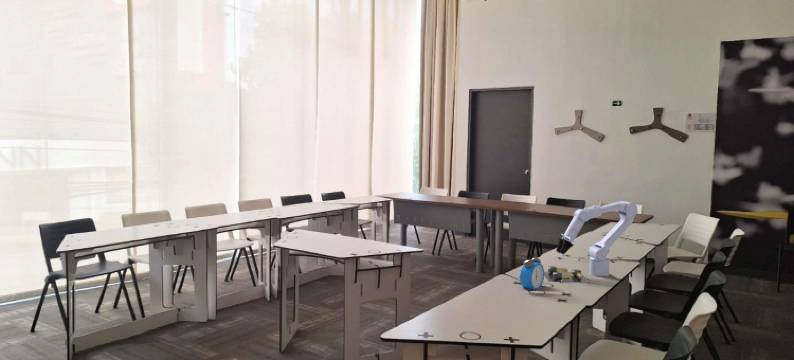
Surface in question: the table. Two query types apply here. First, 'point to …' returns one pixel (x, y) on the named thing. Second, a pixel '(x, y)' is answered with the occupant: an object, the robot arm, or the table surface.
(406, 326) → the table surface
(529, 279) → the alarm clock
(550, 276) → the dark grey square plate
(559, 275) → the knob
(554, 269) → the knob
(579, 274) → the knob
